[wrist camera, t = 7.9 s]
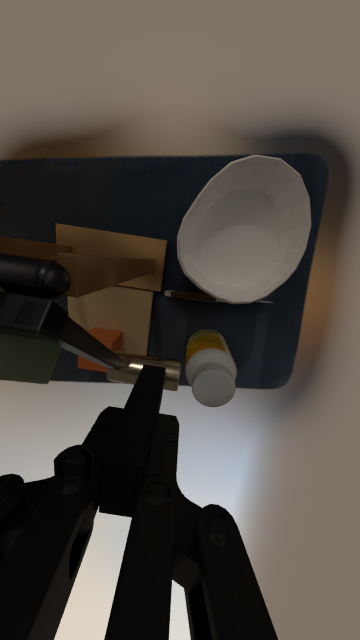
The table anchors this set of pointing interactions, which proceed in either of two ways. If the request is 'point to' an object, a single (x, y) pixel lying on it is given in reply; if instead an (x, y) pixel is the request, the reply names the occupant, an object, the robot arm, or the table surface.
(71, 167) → the table surface
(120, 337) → the block
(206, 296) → the pocket knife
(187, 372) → the supplement bottle
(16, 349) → the tilting tray
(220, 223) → the cup
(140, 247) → the scoop stand
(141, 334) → the mat
